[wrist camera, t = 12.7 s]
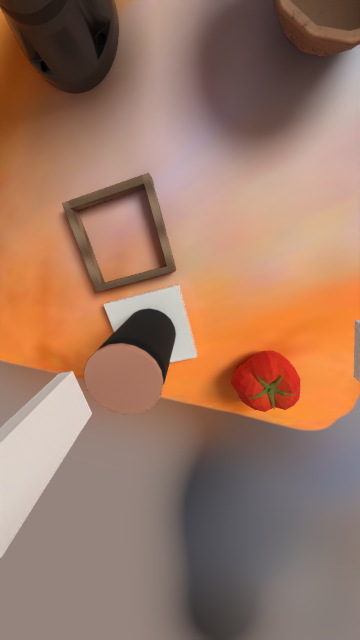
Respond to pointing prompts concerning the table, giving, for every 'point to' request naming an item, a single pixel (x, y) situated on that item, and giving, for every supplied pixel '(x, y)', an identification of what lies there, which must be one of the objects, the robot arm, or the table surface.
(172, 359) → the tile
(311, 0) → the bowl
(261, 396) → the tomato
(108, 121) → the table surface
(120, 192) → the holder
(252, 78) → the table surface
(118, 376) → the coffee jar
